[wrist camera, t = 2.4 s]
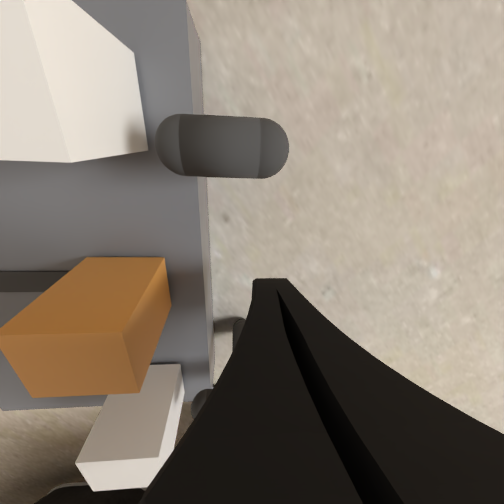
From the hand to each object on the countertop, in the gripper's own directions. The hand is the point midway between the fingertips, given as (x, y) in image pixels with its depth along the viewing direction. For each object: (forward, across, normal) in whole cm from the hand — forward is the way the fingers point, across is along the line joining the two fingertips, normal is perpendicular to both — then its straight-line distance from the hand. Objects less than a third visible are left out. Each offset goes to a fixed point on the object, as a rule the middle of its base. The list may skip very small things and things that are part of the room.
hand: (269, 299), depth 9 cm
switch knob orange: (+1, +6, 0) cm, 6 cm away
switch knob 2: (+1, +6, +6) cm, 9 cm away
